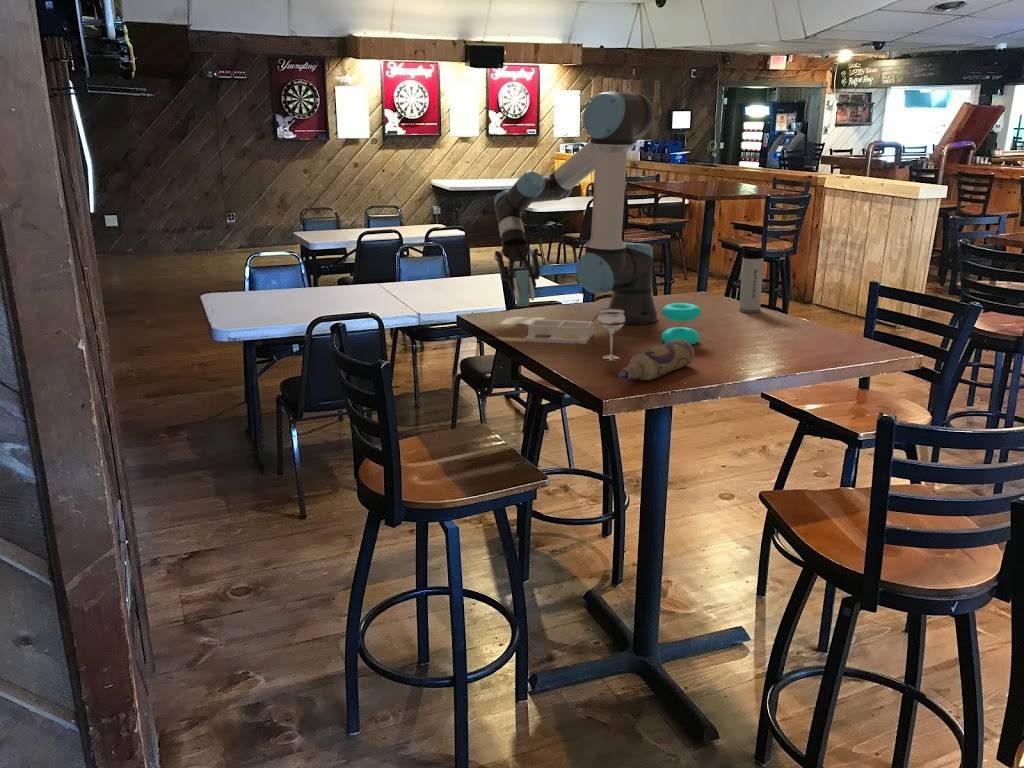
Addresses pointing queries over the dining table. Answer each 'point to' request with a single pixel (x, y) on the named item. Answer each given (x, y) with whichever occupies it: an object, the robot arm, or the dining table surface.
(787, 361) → the dining table surface
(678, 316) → the donuts
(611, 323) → the wineglass
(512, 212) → the robot arm
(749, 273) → the travel mug
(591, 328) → the divided storage tray
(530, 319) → the deck
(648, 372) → the decorative bottle
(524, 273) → the green rectangular block
